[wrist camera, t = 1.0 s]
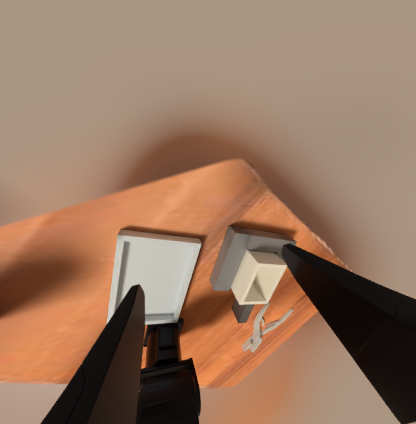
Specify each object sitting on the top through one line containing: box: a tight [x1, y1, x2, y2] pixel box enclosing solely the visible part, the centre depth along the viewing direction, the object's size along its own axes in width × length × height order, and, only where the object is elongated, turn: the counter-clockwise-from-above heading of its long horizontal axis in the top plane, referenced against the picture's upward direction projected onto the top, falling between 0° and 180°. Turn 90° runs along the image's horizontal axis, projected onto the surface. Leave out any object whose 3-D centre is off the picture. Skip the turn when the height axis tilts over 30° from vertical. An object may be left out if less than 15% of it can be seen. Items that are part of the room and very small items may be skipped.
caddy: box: [231, 249, 287, 323], centre depth 28 cm, size 13×6×6 cm, turn 163°
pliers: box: [242, 302, 293, 352], centre depth 39 cm, size 10×2×15 cm
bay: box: [210, 226, 296, 291], centre depth 28 cm, size 11×12×2 cm
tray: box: [107, 229, 201, 325], centre depth 25 cm, size 17×11×2 cm
